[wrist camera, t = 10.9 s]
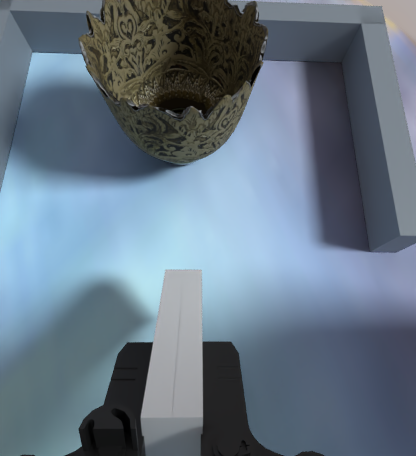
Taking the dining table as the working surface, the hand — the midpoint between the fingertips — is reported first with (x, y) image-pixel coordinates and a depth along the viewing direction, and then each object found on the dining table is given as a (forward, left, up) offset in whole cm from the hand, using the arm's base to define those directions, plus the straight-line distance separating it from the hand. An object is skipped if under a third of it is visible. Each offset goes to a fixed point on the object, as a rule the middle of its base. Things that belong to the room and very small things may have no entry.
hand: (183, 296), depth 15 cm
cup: (-1, +10, -4) cm, 10 cm away
